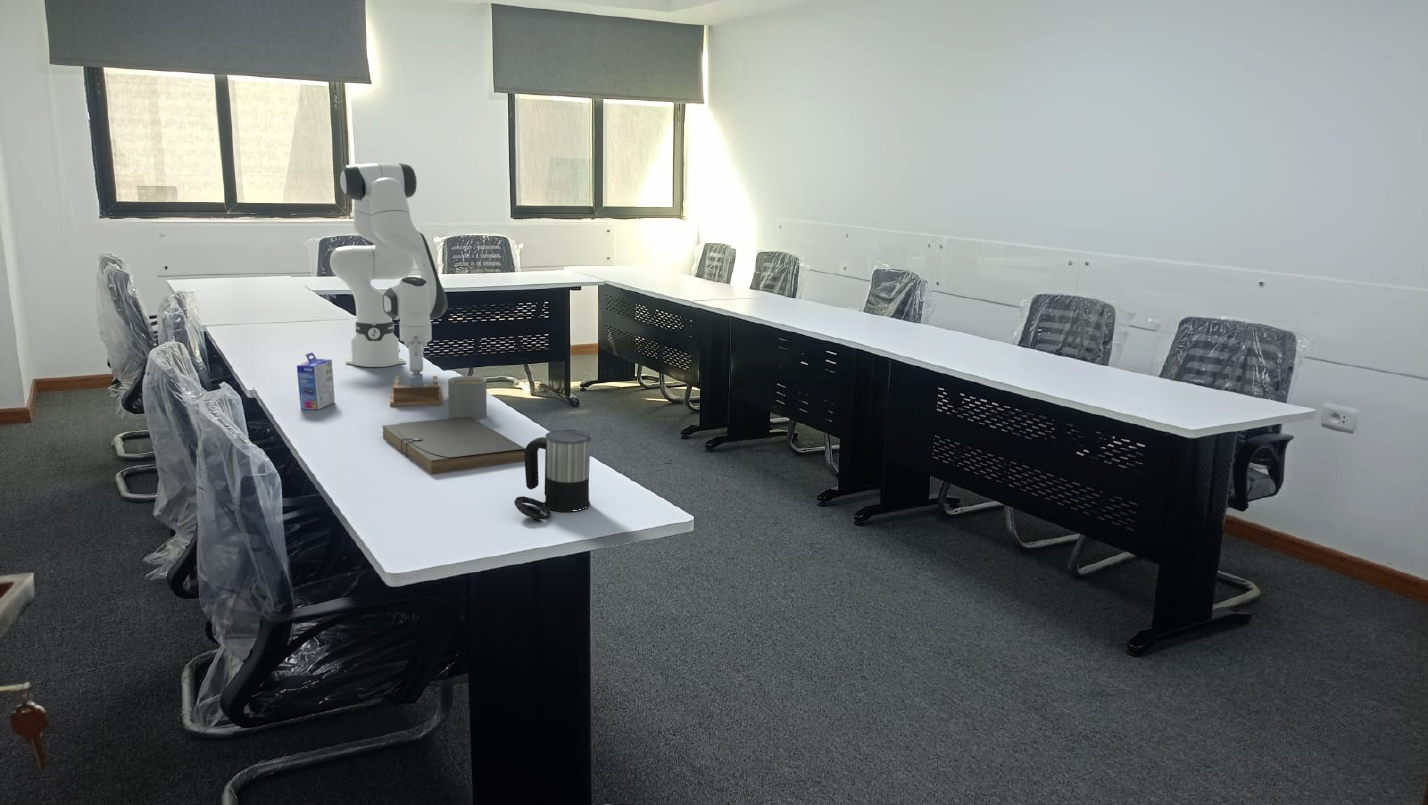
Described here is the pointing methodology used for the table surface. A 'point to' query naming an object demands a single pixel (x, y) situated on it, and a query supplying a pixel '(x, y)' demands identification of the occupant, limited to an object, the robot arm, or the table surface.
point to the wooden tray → (416, 394)
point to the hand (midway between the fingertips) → (416, 381)
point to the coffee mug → (467, 397)
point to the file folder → (452, 444)
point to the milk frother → (558, 473)
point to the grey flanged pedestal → (416, 380)
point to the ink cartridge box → (315, 383)
